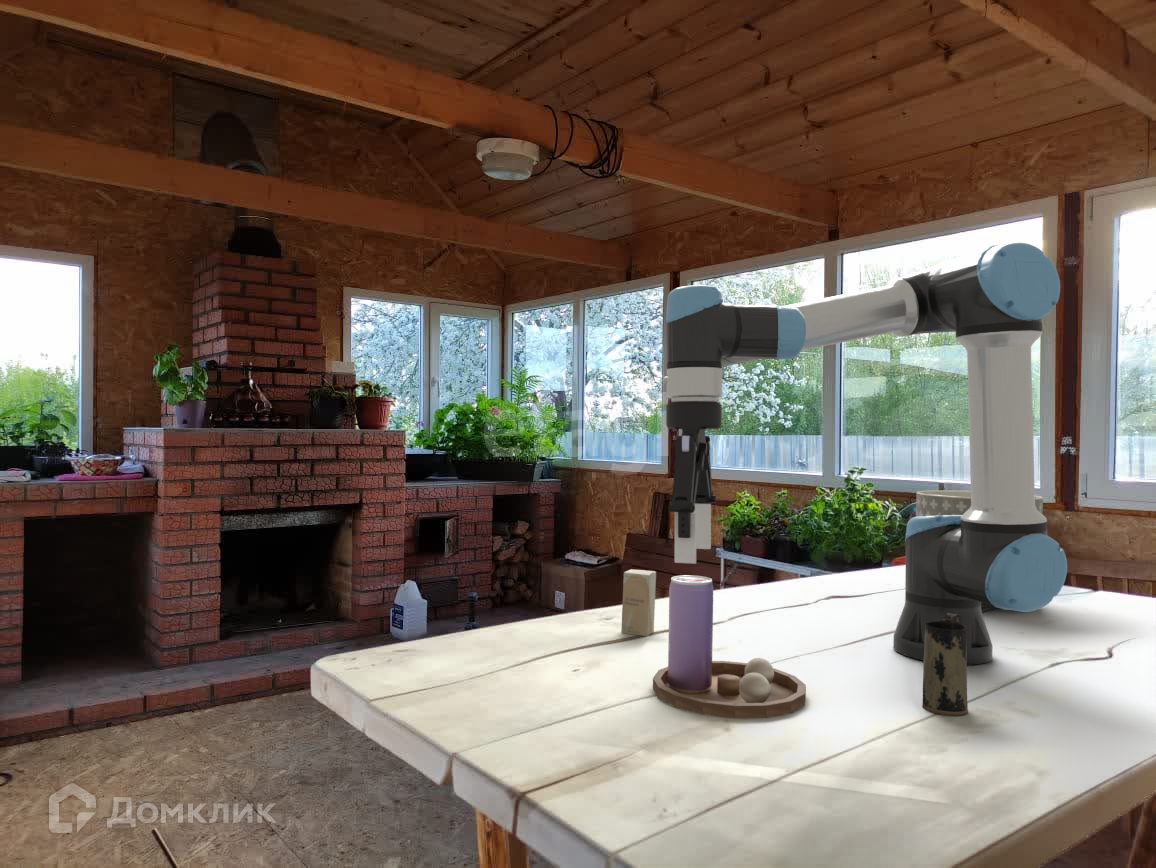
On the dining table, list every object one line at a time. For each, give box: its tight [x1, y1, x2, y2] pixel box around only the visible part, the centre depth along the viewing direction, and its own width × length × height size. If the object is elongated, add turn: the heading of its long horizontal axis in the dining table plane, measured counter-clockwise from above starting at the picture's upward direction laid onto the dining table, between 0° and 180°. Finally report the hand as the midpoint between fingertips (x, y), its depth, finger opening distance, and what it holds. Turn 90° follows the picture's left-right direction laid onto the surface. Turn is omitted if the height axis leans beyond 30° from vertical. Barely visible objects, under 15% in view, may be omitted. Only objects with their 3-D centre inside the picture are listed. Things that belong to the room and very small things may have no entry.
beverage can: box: [667, 574, 714, 694], centre depth 113 cm, size 6×6×15 cm
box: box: [620, 568, 657, 637], centre depth 148 cm, size 5×4×11 cm
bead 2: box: [739, 673, 770, 703], centre depth 106 cm, size 4×4×4 cm
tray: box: [652, 660, 807, 719], centre depth 111 cm, size 20×20×3 cm
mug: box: [921, 613, 969, 717], centre depth 109 cm, size 8×6×12 cm
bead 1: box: [745, 657, 775, 684], centre depth 113 cm, size 4×4×4 cm
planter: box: [915, 489, 1044, 608], centre depth 181 cm, size 25×25×24 cm
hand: (693, 555), depth 113 cm, fingers open, 13 cm apart
